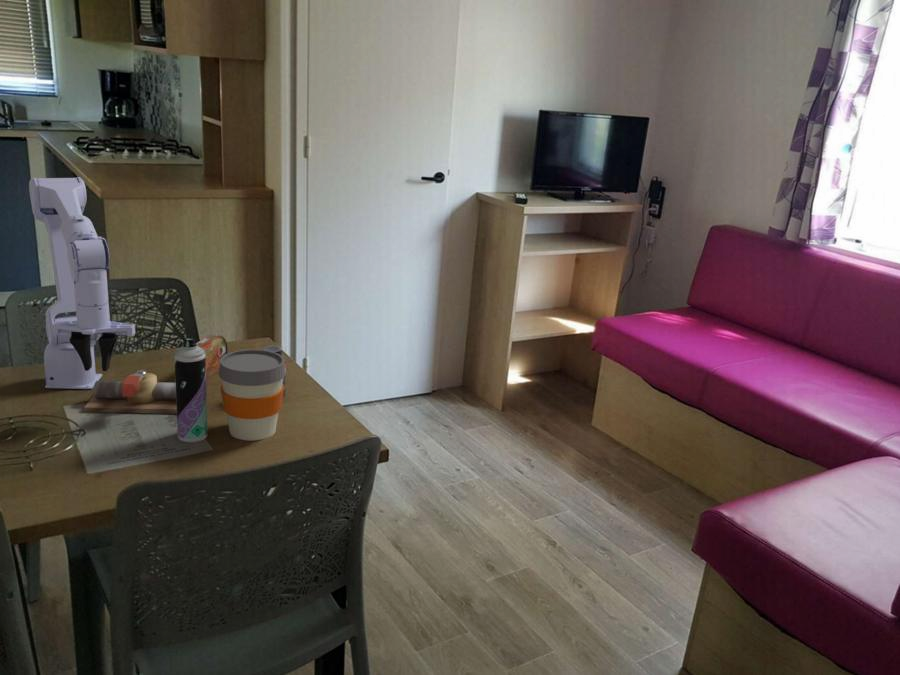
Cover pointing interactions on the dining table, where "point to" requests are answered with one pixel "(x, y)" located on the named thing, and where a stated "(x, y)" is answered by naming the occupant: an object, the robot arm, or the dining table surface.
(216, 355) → the tin
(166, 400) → the valve stand
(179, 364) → the spray can
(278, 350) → the supplement bottle
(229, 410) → the reusable coffee cup
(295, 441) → the dining table surface
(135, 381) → the valve lever
